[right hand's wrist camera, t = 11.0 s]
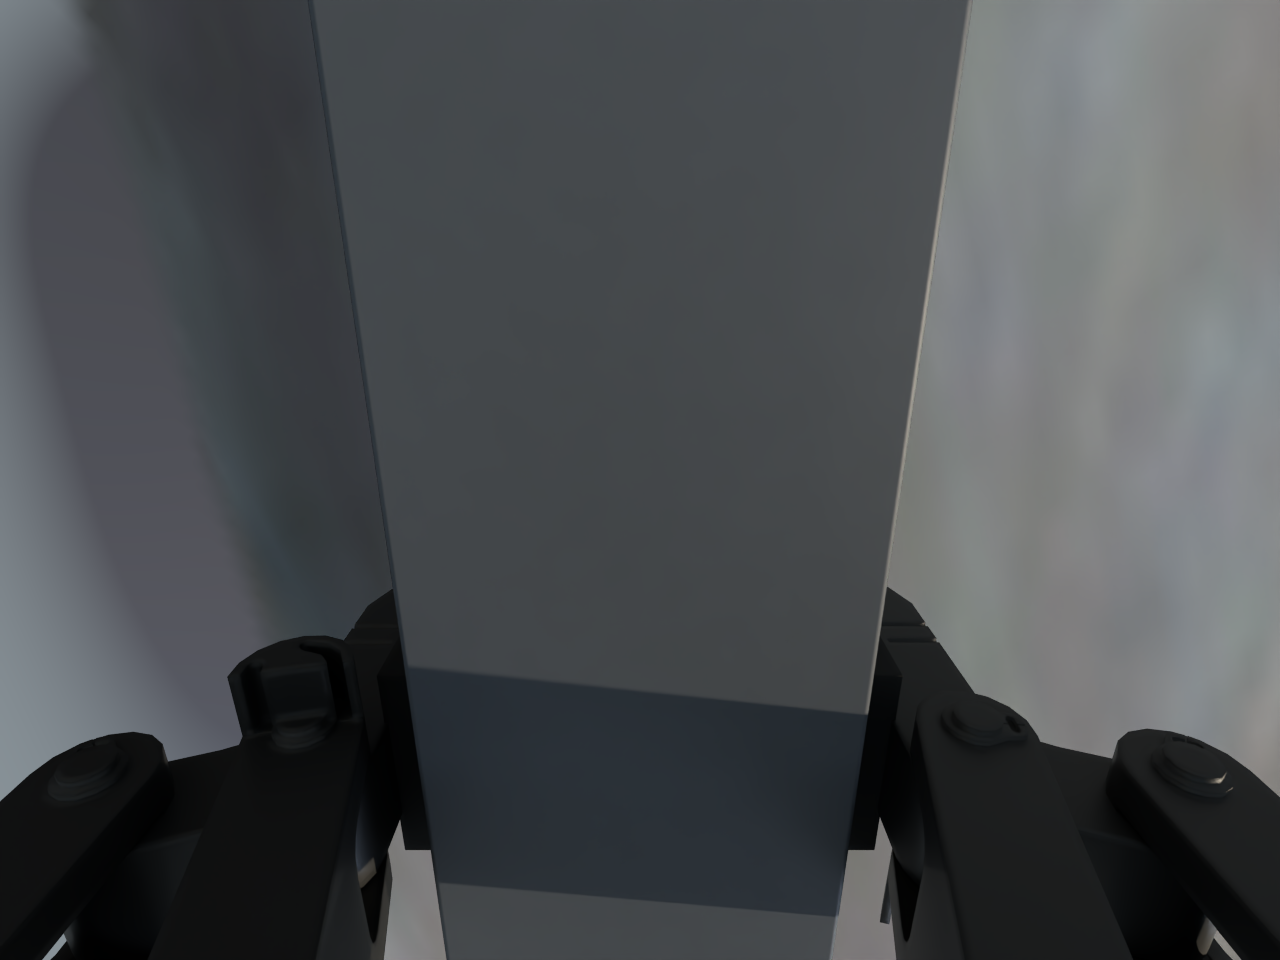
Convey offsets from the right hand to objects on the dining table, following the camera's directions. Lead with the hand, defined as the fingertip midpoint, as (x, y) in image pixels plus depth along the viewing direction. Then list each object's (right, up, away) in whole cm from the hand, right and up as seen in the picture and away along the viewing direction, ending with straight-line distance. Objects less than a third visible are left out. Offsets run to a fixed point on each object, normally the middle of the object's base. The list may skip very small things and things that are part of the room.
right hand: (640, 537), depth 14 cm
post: (0, +28, -10) cm, 30 cm away
